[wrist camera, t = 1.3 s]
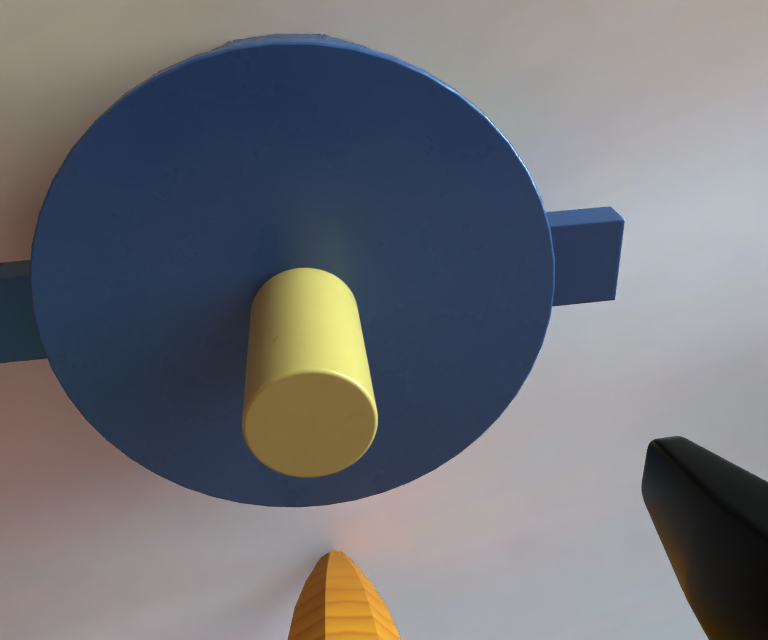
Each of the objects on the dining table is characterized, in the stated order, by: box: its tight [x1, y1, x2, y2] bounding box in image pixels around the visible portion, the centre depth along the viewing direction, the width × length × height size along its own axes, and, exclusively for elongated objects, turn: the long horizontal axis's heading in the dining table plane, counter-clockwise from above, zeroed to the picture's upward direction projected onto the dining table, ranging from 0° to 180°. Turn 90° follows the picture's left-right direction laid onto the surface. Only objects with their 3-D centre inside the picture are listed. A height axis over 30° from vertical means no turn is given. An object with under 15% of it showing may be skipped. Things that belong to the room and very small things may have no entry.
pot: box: [0, 34, 625, 363], centre depth 20 cm, size 12×17×4 cm
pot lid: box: [30, 39, 555, 507], centre depth 16 cm, size 13×13×6 cm
